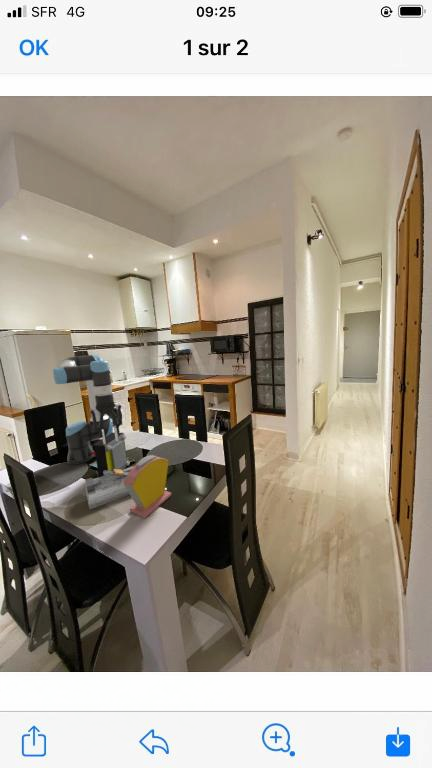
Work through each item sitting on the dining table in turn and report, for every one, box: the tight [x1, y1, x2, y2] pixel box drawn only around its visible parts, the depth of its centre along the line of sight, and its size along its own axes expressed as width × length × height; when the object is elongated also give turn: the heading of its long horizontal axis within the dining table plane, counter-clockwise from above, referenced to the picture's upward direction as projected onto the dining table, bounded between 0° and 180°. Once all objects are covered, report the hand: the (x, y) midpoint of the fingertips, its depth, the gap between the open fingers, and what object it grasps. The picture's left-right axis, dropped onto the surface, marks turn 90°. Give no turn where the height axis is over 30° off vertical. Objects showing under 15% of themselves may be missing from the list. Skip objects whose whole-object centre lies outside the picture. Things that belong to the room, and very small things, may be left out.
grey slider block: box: [84, 477, 101, 492], centre depth 115 cm, size 7×6×5 cm
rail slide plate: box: [84, 465, 135, 510], centre depth 120 cm, size 14×26×7 cm, turn 123°
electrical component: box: [91, 431, 130, 477], centre depth 137 cm, size 18×10×20 cm, turn 168°
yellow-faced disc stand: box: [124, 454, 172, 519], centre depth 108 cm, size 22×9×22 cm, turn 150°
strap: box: [103, 469, 129, 477], centre depth 121 cm, size 6×16×2 cm, turn 123°
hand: (110, 441), depth 118 cm, fingers open, 5 cm apart
